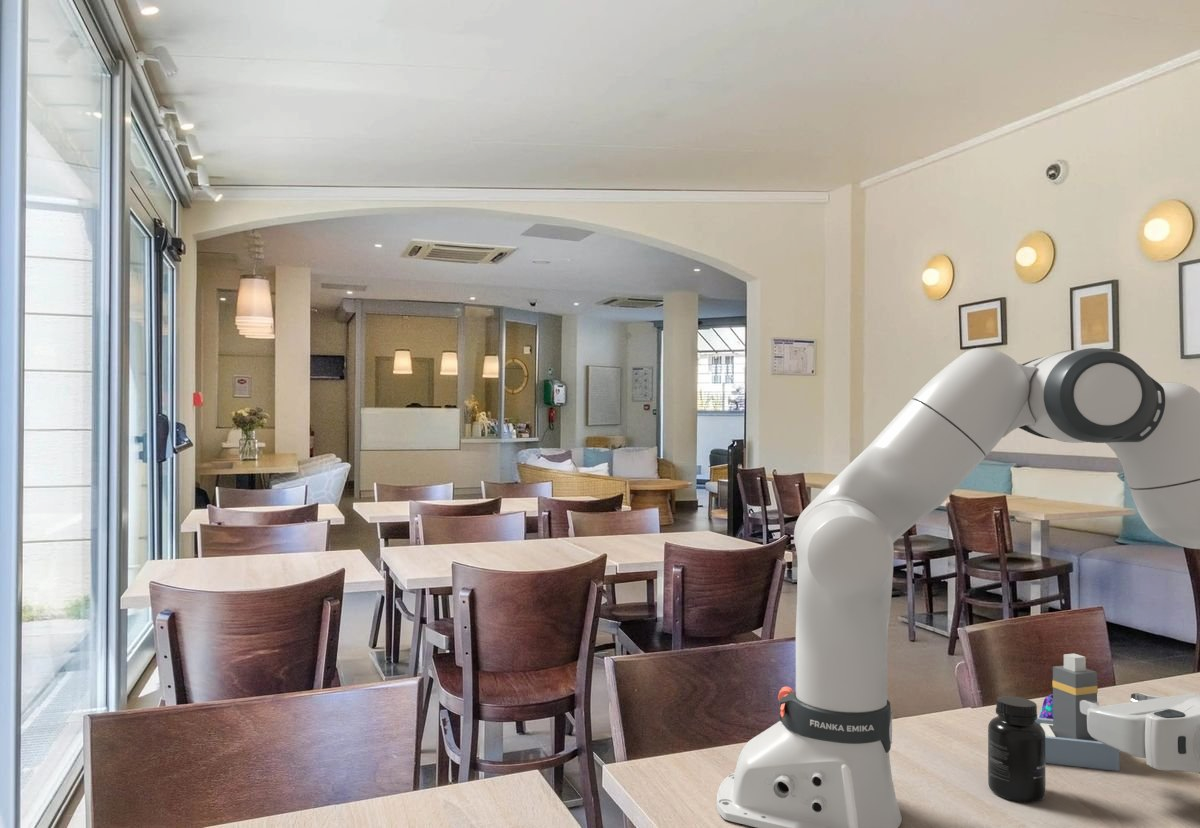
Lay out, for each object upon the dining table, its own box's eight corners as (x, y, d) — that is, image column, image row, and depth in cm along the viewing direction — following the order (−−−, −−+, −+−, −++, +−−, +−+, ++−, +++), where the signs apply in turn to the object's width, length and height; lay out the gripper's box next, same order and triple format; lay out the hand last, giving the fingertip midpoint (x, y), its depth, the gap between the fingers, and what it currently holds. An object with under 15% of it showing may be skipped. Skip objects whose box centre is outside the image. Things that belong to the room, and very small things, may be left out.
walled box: (1009, 759, 122) (1009, 734, 122) (999, 737, 130) (999, 714, 130) (1119, 771, 118) (1119, 745, 118) (1101, 747, 126) (1101, 723, 126)
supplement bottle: (1053, 806, 107) (1052, 711, 107) (995, 801, 108) (995, 708, 108) (1036, 784, 113) (1036, 694, 113) (982, 779, 115) (982, 691, 115)
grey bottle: (1076, 758, 121) (1075, 660, 121) (1052, 747, 125) (1052, 653, 125) (1098, 754, 122) (1097, 658, 122) (1074, 744, 126) (1073, 651, 126)
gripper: (1265, 702, 108) (1163, 672, 121) (1147, 719, 102) (1053, 686, 115) (1266, 751, 108) (1164, 716, 121) (1147, 772, 102) (1053, 732, 115)
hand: (1109, 701), depth 118 cm, fingers open, 8 cm apart
